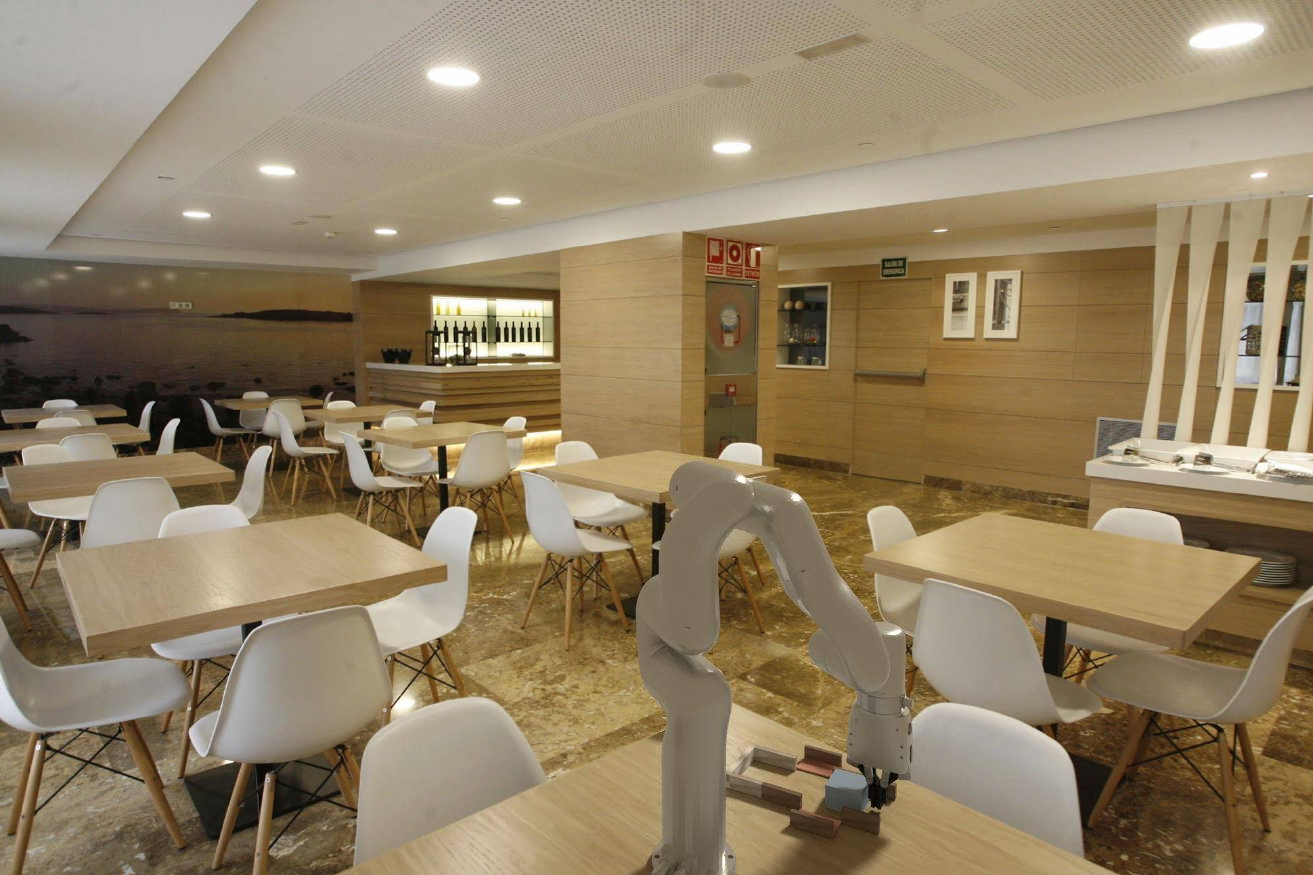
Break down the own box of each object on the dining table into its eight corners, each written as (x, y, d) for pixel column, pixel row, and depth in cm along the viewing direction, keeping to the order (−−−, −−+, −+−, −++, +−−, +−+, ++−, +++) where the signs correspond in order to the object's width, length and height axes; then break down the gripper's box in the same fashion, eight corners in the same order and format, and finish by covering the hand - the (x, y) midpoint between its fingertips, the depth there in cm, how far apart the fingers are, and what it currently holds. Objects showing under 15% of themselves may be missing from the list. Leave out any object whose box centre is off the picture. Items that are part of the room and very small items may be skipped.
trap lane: (870, 851, 116) (870, 836, 116) (712, 800, 130) (712, 786, 130) (902, 783, 135) (903, 770, 134) (761, 745, 148) (761, 732, 148)
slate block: (860, 817, 125) (861, 794, 125) (825, 807, 128) (825, 785, 127) (869, 799, 130) (870, 777, 130) (835, 790, 133) (835, 768, 133)
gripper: (932, 700, 124) (929, 806, 126) (842, 681, 131) (841, 781, 133) (922, 719, 117) (919, 830, 119) (828, 697, 125) (827, 802, 127)
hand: (877, 804), depth 126 cm, fingers closed
